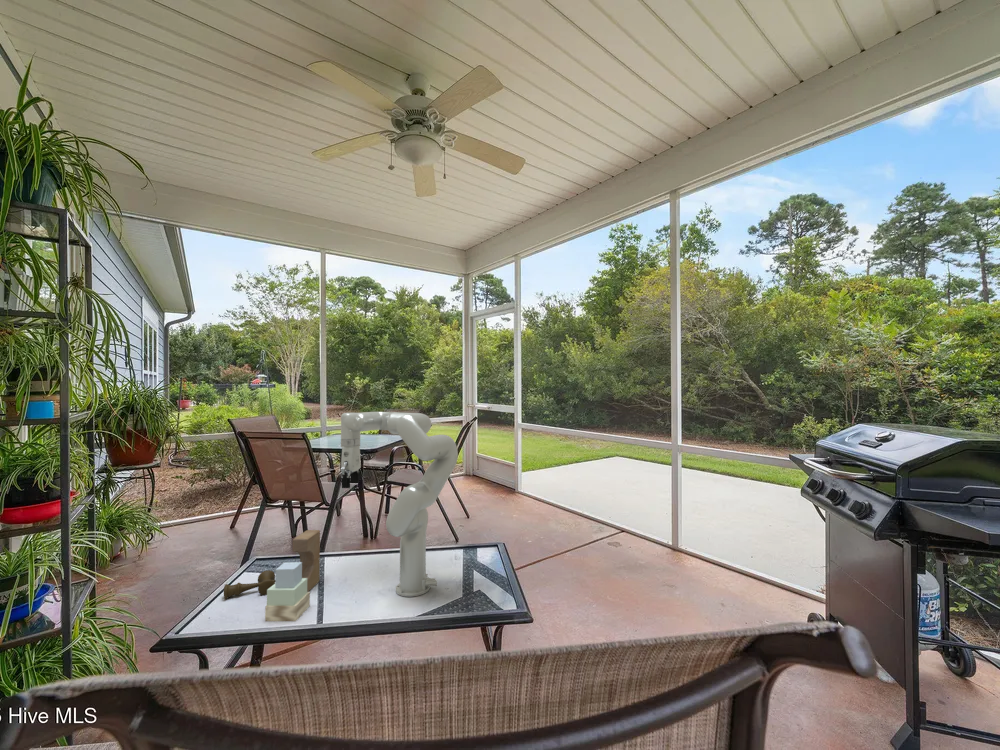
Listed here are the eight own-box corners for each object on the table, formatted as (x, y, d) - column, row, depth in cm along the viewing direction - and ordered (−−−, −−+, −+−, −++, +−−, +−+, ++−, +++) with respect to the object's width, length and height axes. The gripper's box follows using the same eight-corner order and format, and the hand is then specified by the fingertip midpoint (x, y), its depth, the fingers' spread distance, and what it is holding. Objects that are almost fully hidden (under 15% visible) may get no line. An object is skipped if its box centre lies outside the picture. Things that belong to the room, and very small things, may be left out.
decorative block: (306, 594, 157) (306, 539, 158) (290, 594, 158) (291, 539, 159) (320, 581, 169) (320, 529, 169) (306, 581, 169) (306, 529, 170)
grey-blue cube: (301, 580, 147) (302, 562, 148) (293, 587, 141) (293, 569, 142) (284, 580, 147) (284, 562, 148) (275, 588, 141) (275, 569, 142)
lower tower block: (309, 606, 149) (309, 591, 149) (296, 621, 139) (296, 606, 139) (280, 606, 149) (281, 592, 149) (265, 622, 139) (265, 606, 139)
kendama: (224, 594, 159) (284, 581, 169) (222, 606, 151) (286, 591, 161) (224, 578, 159) (284, 566, 169) (222, 589, 151) (286, 575, 161)
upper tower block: (307, 592, 149) (307, 578, 149) (294, 605, 140) (294, 590, 140) (281, 592, 149) (281, 578, 149) (266, 605, 140) (266, 589, 140)
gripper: (352, 445, 167) (352, 489, 166) (366, 440, 184) (366, 481, 183) (333, 445, 167) (332, 490, 166) (349, 440, 184) (348, 481, 183)
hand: (350, 485), depth 175 cm, fingers open, 9 cm apart
